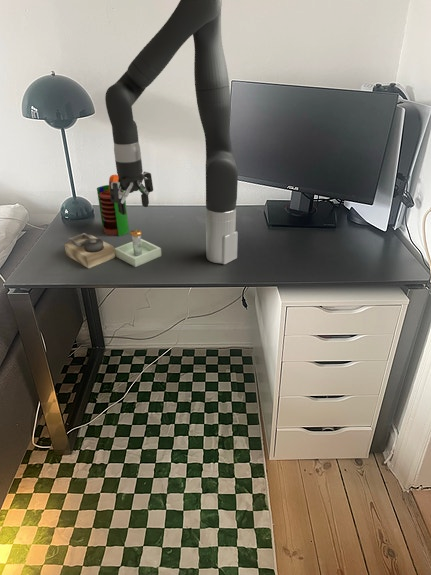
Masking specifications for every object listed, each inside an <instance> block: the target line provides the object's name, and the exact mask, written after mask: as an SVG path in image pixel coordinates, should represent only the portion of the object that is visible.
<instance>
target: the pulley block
mask: <svg viewBox="0 0 431 575" xmlns="http://www.w3.org/2000/svg"><path fill="white" fill-rule="evenodd" d="M114 248H115V246H113V245H112V244H109V243H108V242H105V241H104V240H102V239H101V238H98V237H96V236H94V235H92V234H87V233H86V232H83V233H80V234H77V235H75V236H71V237H69V238H68V242H66V243H64V249H65V255H66V256H67V257H69V258H70V259H72V260H74V261H75V262H77V263H79V264H80V265H82V266H84V267H85V268H87V269H91V268H93V267H95V266H96V267H97V266H98V265H100V264H103V263H106V262H108V261H110V260H112V259H116V256H115V249H114Z"/></svg>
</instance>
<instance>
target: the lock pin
mask: <svg viewBox="0 0 431 575" xmlns="http://www.w3.org/2000/svg"><path fill="white" fill-rule="evenodd" d="M130 235H131V239H132V240H131V242H133V252H134V256H140V255H142V243H141V239H142V230H141V229H133V230H130Z"/></svg>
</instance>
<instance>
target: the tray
mask: <svg viewBox="0 0 431 575" xmlns="http://www.w3.org/2000/svg"><path fill="white" fill-rule="evenodd" d="M141 243H142V255H140V256H134V252H133V242H132V241H130V242H128V243H125V244H123V245H120V246H117V247H114V253H115V258H118V259H120V260H122V261H124V262H125V263H127V264H129V265H131V266H132V267H135V268H137V267H139V266H141V265H144V264H146V263H149V262H150V261H152V260H155V259H157V258H160V257H162V248H161V247H159V246H158V245H155V244H153V243H151V242H149V241H147V240H145V239H143V238H141Z"/></svg>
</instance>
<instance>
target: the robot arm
mask: <svg viewBox="0 0 431 575" xmlns="http://www.w3.org/2000/svg"><path fill="white" fill-rule="evenodd" d="M222 2H223V1H222V0H179V2H178V4H177V5H176V7H175V9H174V11H173V12H172V13H171V14H170V16H169V18H168V19H167V20H166V22H165V23H164V24H163V25H162V27H161V28H160V29H159V30H158V32H156V33H155V35H154V36H153V37H152V38H151V39H150V40H149V41H148V42H147V43H146V45H145V46H144V47H143V48H141V50H140V51H139V53H137V55H136V56H135V58H133V60H131V63H130V64H129V65H128V67H127V69H126V71H125V72H124V73H123V74H122V75H121V77H120V78H119V79H117V81H116V82H115V83H113V84H112V85H110V86H109V87H108V88H107V89H106V92H105V95H104V97H105V107H106V108H105V109H106V112H107V114H108V118H109V121H110V125H111V131H112V140H113V152H114V153H113V154H114V161H115V167H116V168H115V170H116V175H118V177H119V179H118V181H117V182H110V183H109V182H108V185H109V186H110V197H111V201H112V202H115V203H117V204H118V211H119V213H121V214H122V215H125V214H126V209H125V203H124V201H125V200H126V199H127V198H128V196H130V195H129V194H132V193H134V192H138V191H139V193H141V194H140V198H141V205H142V206H143V207H144V208H147V207H149V204H150V201H149V194H150V193H152V192H153V191H154V184H153V178H152V173H150V172H148V171H144V170H143V162H142V152H141V146H140V142H139V132H138V126H137V122H136V121H135V120H134V115H133V106H134V104H136V102H137V101H138V99H139V98H140V97H141V95H142V94H143V93H144V92H145V90H146V88H147V87H149V86H150V85H151V84H153V83H154V81H155V80H156V79H157V78H158V76H159V75H160V74H161V73H162V72H163V71H164V69H165V68H166V67H167V66H168V64H169V63H170V62H171V60H172V59H173V57H174V56H175V55H176V54H177V52H178V51H179V50H180V49H181V48H182V46H183V45H184V44H185V43H186V41H188V40H189V38H190V37H193V46H194V63H193V64H194V68H193V69H194V70H193V71H194V72H193V74H194V87H195V97H196V103H197V104H196V105H197V110H198V114H199V119H200V123H201V127H202V129H203V133H204V139H205V234H206V236H205V241H206V243H205V244H206V246H205V247H206V248H205V250H206V253H205V254H206V255H205V256H206V259H207V260H208V261H209V262H211V263H215V264H222V265H227V264H228V263H230V262H232V261H234V260H237V259H238V238H239V236H238V233H239V232H238V231H237V230H236V221H237V220H236V219H237V218H236V217H237V199H238V182H239V181H238V179H239V176H238V175H239V172H238V167H237V163H236V160H235V156H234V151H233V146H232V140H231V131H230V130H231V117H232V116H231V114H232V104H231V100H232V99H231V89H230V81H229V80H230V79H229V73H228V68H227V62H226V57H225V53H224V47H223V39H222V37H223V36H222V6H223V4H222ZM143 182H144V184H143ZM119 186H120V189H119ZM118 189H119V191H118ZM123 190H124V191H125V192H124V193H123Z"/></svg>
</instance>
